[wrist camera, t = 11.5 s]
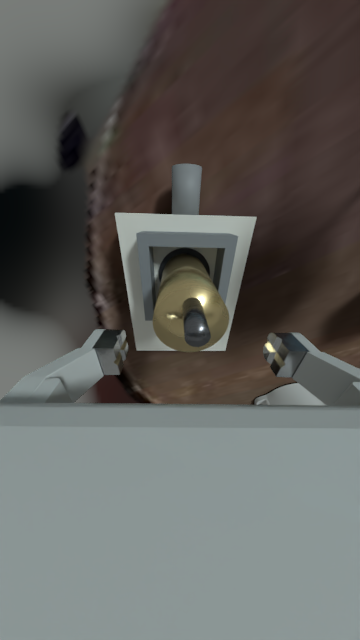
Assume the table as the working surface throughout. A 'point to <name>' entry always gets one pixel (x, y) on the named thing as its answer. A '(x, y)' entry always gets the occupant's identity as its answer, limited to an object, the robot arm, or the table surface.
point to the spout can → (188, 306)
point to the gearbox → (180, 238)
